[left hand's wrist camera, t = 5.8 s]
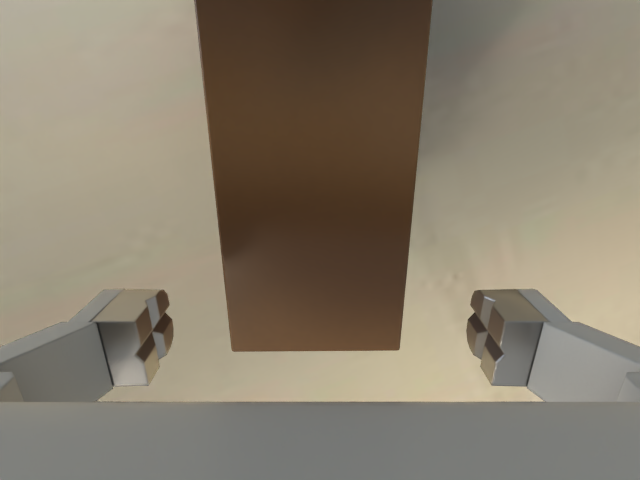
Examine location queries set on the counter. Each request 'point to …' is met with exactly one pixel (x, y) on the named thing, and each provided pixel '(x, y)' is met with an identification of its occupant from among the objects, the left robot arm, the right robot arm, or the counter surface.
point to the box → (314, 165)
